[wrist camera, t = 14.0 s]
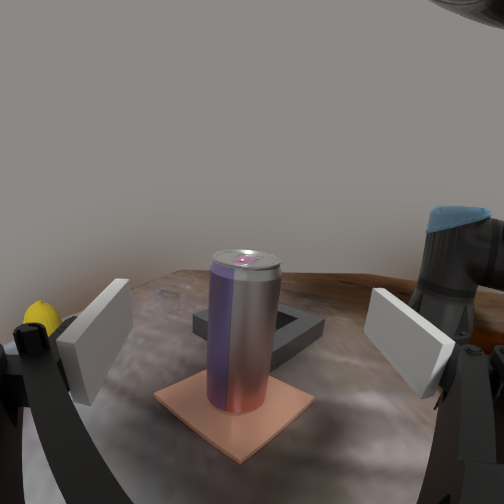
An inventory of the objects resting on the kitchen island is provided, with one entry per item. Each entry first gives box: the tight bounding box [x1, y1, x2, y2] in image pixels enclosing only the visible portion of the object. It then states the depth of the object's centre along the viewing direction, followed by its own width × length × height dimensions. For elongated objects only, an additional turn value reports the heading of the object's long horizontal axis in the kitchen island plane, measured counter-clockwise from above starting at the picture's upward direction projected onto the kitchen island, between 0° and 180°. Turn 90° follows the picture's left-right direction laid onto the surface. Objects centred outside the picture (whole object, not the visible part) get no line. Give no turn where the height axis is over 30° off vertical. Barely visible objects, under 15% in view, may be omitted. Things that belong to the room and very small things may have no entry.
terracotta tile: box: [154, 369, 315, 464], centre depth 28 cm, size 12×12×1 cm
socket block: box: [193, 302, 325, 373], centre depth 43 cm, size 14×14×3 cm
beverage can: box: [207, 250, 282, 415], centre depth 26 cm, size 6×6×15 cm
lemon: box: [24, 300, 62, 337], centre depth 28 cm, size 6×6×8 cm
